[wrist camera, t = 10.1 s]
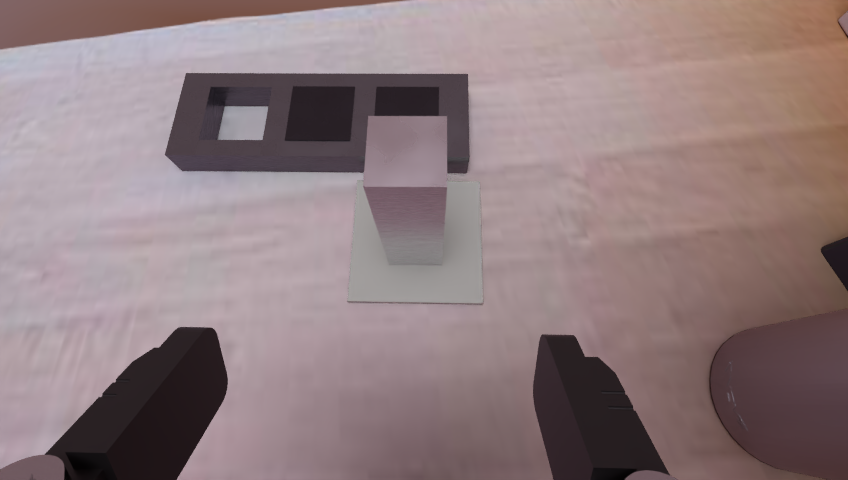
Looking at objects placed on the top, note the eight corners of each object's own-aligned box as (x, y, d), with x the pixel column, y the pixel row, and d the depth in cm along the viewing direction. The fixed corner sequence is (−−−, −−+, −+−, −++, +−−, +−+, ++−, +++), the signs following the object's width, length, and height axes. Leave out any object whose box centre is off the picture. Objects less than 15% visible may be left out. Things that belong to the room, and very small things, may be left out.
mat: (479, 183, 35) (479, 181, 35) (482, 304, 32) (482, 303, 32) (358, 182, 36) (357, 180, 35) (348, 302, 32) (347, 301, 32)
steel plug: (441, 217, 34) (446, 116, 22) (441, 265, 33) (447, 187, 20) (391, 216, 34) (368, 116, 22) (389, 265, 33) (363, 186, 20)
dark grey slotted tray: (465, 93, 38) (467, 73, 36) (466, 172, 36) (469, 156, 33) (200, 92, 39) (185, 72, 37) (182, 170, 36) (164, 154, 34)
